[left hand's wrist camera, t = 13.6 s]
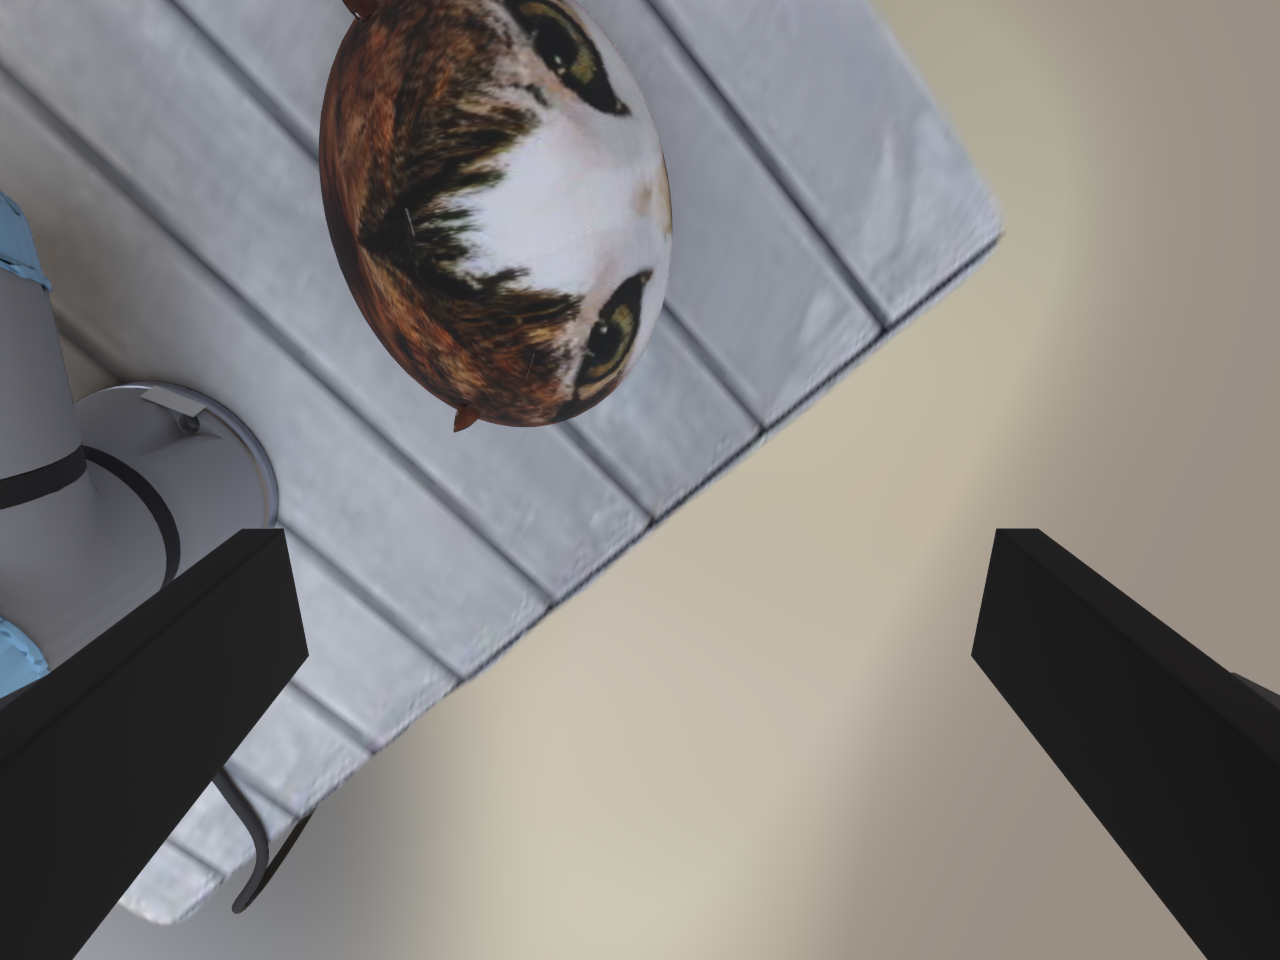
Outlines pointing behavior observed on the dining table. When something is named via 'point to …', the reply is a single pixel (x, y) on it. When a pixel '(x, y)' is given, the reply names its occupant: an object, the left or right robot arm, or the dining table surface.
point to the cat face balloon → (496, 201)
